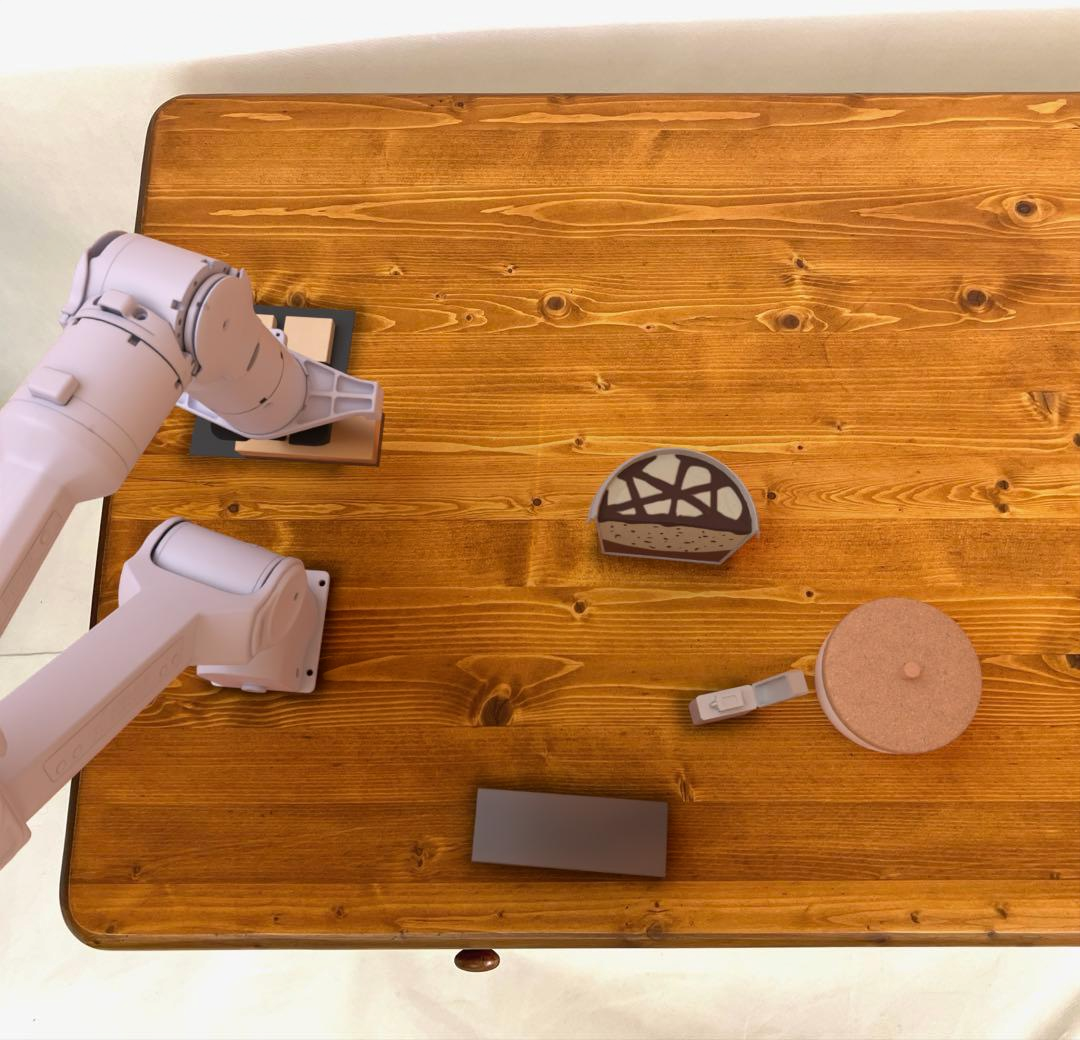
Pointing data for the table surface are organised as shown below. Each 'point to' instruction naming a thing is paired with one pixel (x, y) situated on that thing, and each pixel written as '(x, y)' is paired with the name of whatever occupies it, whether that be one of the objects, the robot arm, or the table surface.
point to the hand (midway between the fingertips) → (305, 428)
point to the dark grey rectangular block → (570, 832)
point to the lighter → (747, 697)
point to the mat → (344, 322)
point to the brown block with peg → (347, 445)
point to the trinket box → (898, 677)
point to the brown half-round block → (674, 508)
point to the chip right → (310, 337)
